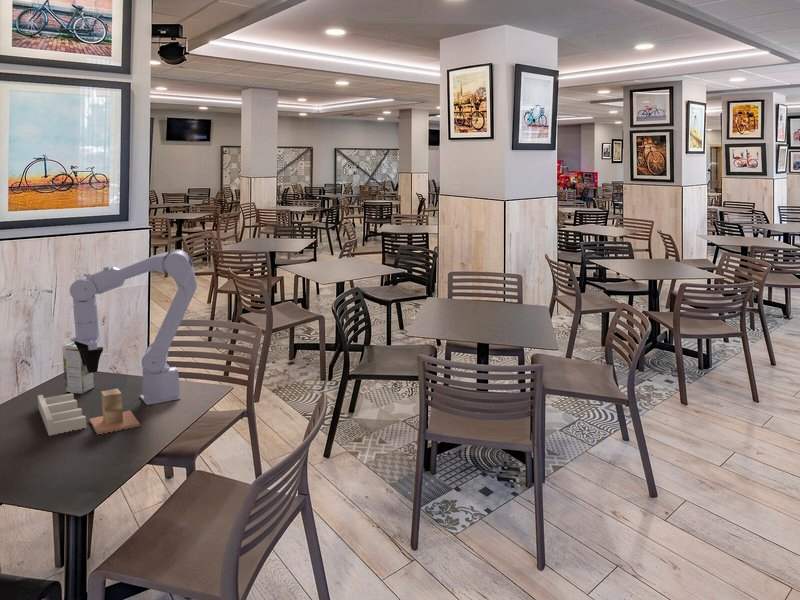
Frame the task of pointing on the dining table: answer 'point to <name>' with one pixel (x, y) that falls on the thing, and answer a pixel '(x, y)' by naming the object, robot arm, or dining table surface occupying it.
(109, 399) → the block
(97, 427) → the terracotta tile
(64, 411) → the slot rack
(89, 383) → the white carton
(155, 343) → the robot arm
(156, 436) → the dining table surface
